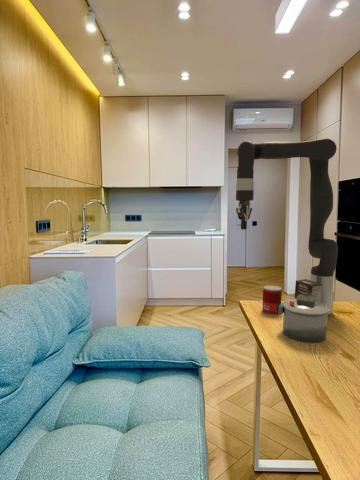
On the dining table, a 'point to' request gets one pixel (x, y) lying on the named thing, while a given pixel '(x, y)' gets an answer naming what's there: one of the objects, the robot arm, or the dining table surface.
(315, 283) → the coffee box
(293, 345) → the dining table surface
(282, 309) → the cooker pot
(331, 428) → the dining table surface
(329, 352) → the dining table surface
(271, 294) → the canned food
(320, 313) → the lid
